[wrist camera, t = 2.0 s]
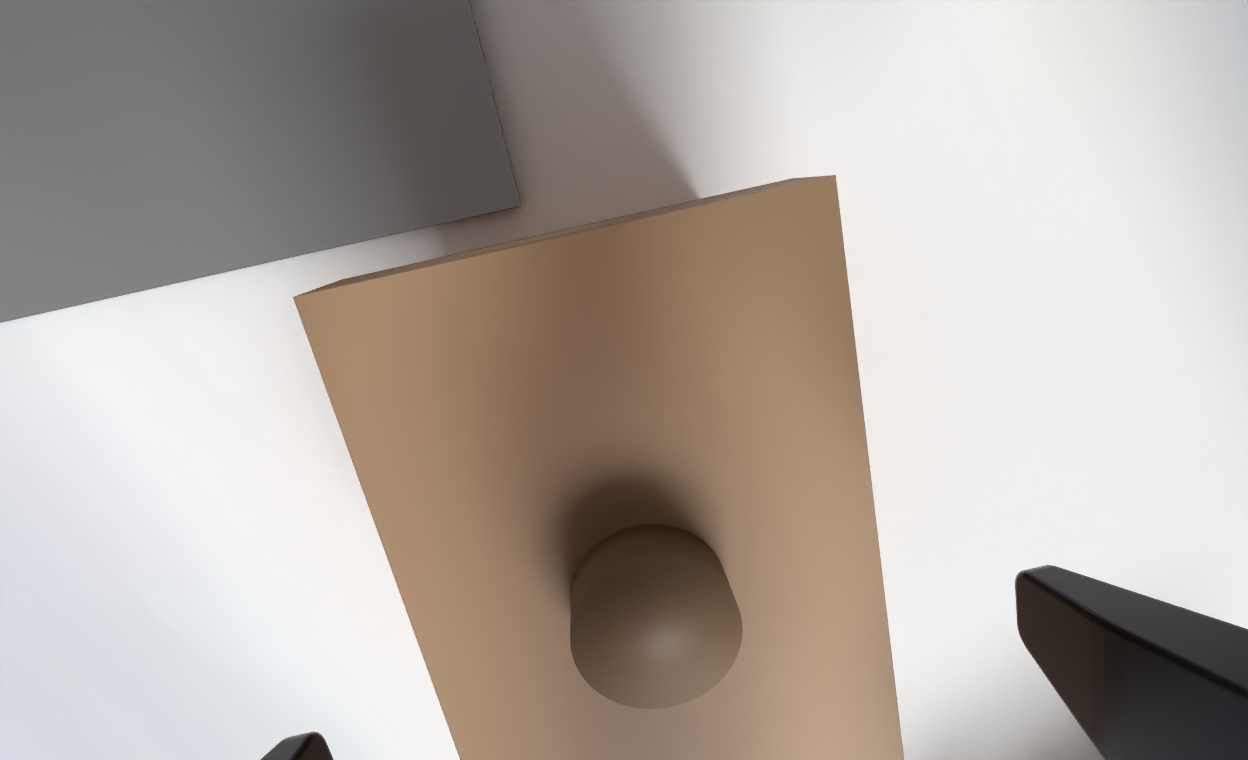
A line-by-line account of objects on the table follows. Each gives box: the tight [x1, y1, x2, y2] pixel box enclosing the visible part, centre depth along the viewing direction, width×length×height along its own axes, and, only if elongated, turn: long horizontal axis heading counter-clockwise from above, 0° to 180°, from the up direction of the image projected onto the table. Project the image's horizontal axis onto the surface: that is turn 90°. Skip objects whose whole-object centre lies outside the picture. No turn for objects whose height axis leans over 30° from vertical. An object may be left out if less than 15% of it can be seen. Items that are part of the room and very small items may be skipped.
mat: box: [0, 0, 521, 323], centre depth 13 cm, size 13×10×1 cm
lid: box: [293, 175, 904, 760], centre depth 10 cm, size 7×11×3 cm, turn 12°
